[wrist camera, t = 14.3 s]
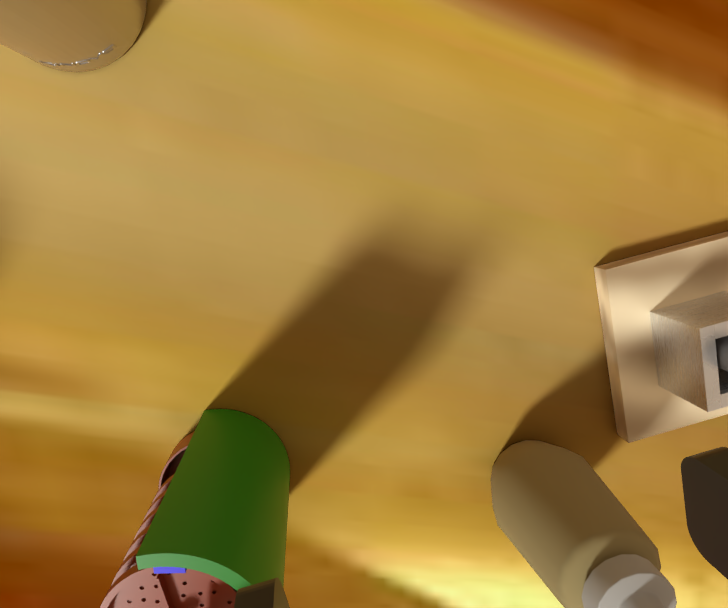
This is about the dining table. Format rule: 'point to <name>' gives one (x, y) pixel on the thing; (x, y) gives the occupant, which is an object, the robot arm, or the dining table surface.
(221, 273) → the dining table surface
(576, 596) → the squeeze bottle
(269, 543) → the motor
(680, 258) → the stand
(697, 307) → the collar
